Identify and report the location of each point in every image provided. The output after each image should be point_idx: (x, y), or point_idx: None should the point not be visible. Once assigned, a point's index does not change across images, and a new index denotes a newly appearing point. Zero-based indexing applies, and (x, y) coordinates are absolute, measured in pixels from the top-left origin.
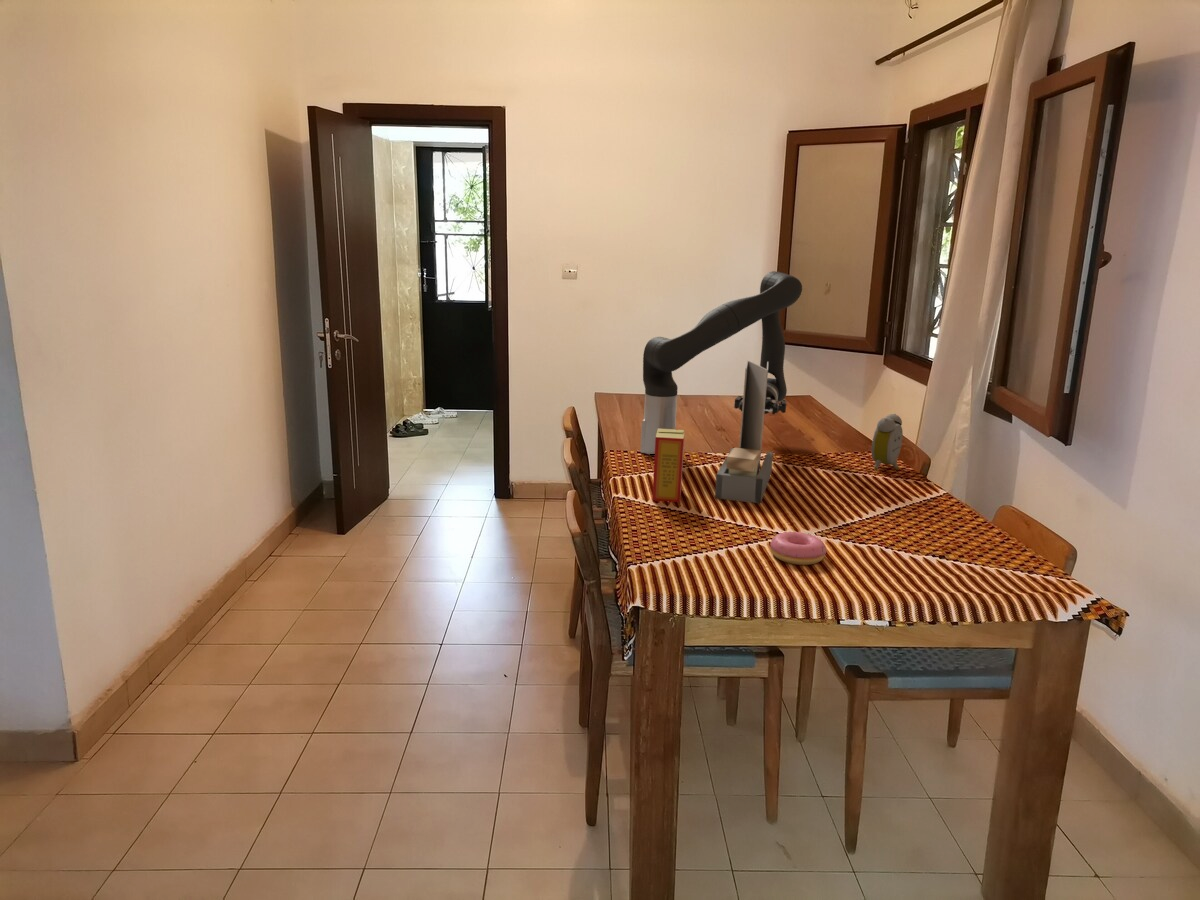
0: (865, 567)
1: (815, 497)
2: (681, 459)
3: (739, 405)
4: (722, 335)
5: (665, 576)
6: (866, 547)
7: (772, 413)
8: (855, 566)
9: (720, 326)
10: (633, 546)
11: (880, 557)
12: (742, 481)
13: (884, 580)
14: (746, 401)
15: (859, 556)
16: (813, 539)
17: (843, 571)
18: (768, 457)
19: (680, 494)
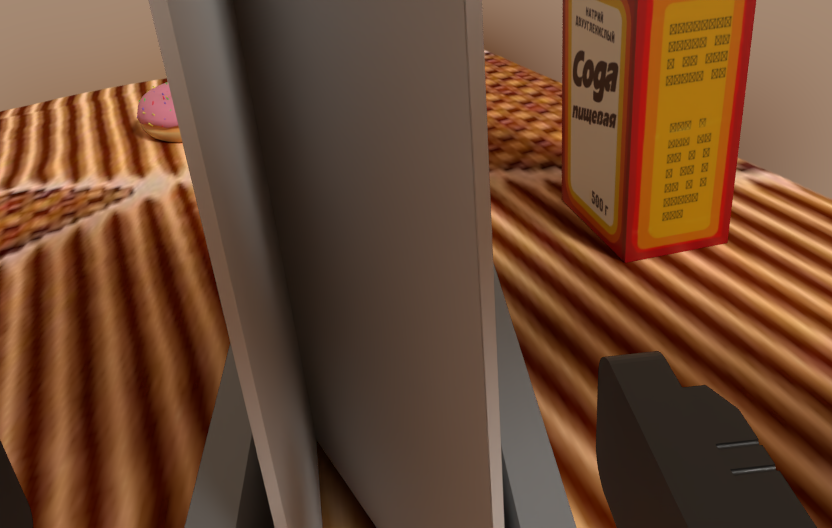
0: (66, 136)
1: (17, 408)
2: (565, 41)
3: (719, 415)
4: None
5: None
6: (18, 183)
7: (29, 520)
8: (86, 133)
9: None
10: (524, 72)
11: (8, 165)
12: None
13: (50, 122)
14: (427, 38)
15: (58, 156)
16: (160, 94)
17: (119, 119)
18: (227, 432)
19: (581, 204)
